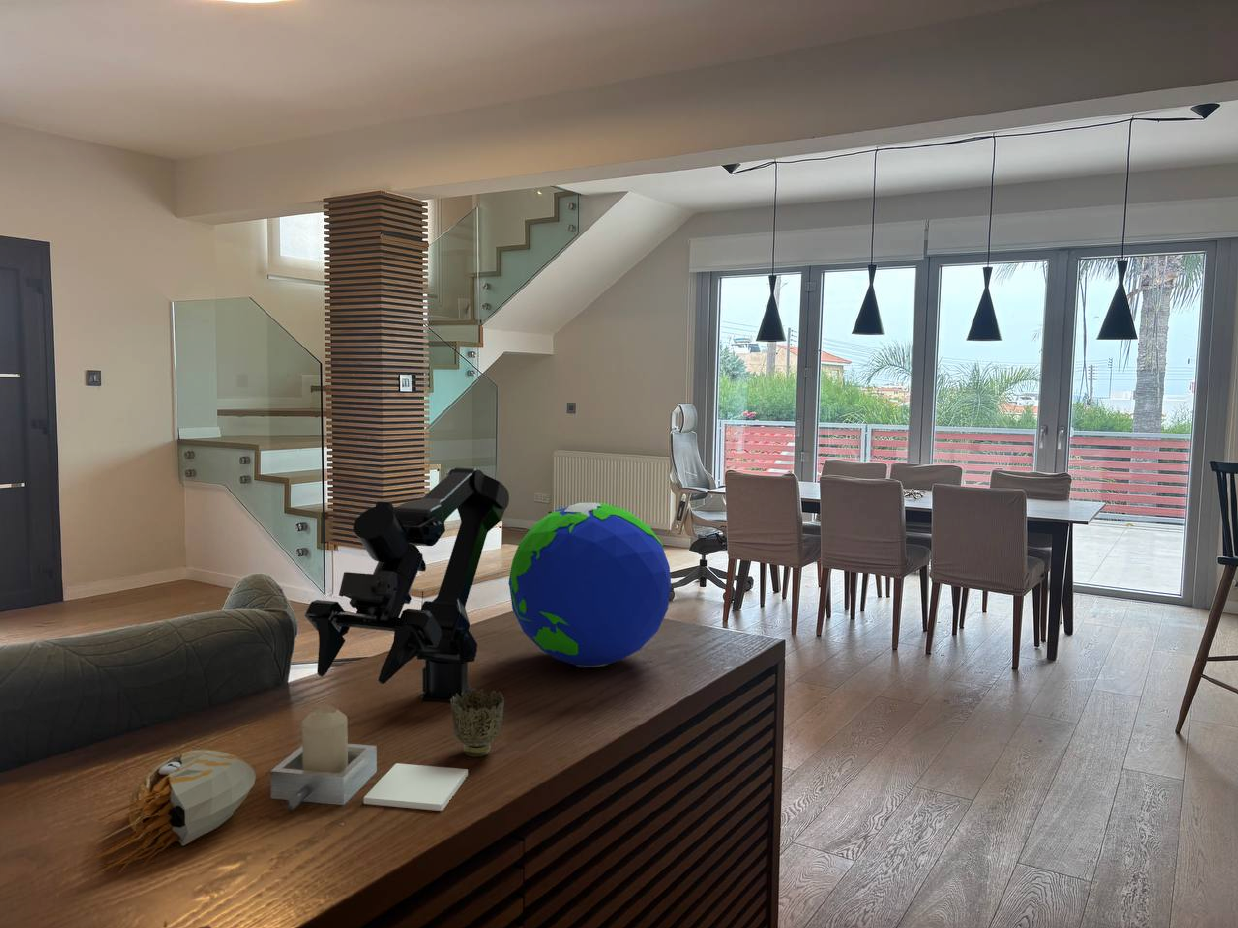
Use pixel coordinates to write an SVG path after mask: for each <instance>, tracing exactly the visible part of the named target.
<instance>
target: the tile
mask: <svg viewBox="0 0 1238 928" xmlns="http://www.w3.org/2000/svg"><path fill="white" fill-rule="evenodd" d="M468 776H469V769H467V768H457V767H456V768H455V767H445V766H432V765H420V764H411V763H410V764H408V763H397V762H396V763H394V765H393V766H391V768H390V769H389V770H388V771H387V772H386V773H385V774H384V775H383V776H382V777H381V779H379V781H378V782H377V783H376V784H375V785H374V786H373V787H372V788H371V789H370V790H369V791H368V792H367V793H366V795H364V797H363V804H364V805H374V806H384V807H395V808H404V809H405V808H406V809H407V808H408V809H413V810H414V809H415V810H416V809H417V810H425V811H426V810H427V811H434V812H435V811H437V812H442V811H444V809H445V807H446V806H447V805H448V803H449V802H450V801H451V800H452V798H453V797H454V795H455V794H456V793H457V791H458V790H459V788H461V786H462V784H463V783H464V782H465V781H466V779H467V778H466V777H468ZM452 796H453V797H452ZM449 800H450V801H449Z"/></svg>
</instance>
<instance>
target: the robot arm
mask: <svg viewBox="0 0 1238 928" xmlns="http://www.w3.org/2000/svg"><path fill="white" fill-rule="evenodd" d="M509 501H510V495H509V491H508V489H507V488H506V487H505V485H503V484H502V483H501V481H499V480H497V479H495V478H493V477H490V476H489V475H486V474H485V473H483V471H482V470H480V469H478V468H476V467H458V466H457V467H454V468H451V469H450V470H449V472H448V475H447V476H445V478H444V479H442V480H441V481H440V482H439V483H438V484H437V485H435V486H434V487H433V488H432V489H431V490H430V491H429V492H427V493H426V494H425V495H424V496H423V497H422V498H420V499H415V500H410V501H406V502H404V503H402V504H400V505H398V506H396V507H395V508H394V505H393V504H392V502H391V501H382V500H381V501H380V500H379V501H377V502H376V504H375V506H373V507H371V508H368V509H367V510H365V511H363V512H362V513H361V514H360V515H359V516H357V517H356V518H355V521H354V523H353V532H354V534H355V535H356V537H357V539H358V540H359V541H360V544H361V545H362V547H364V550H365V551H366V552H367V553H368V555H369V556H370V558H371V559H372V560H374V561H376V562H377V564H376V567H375V568H374V571H373V573H359V572H349V571H345V572H343V575H342V581H341V584H340V588H339V593H338V596H339V597H342V598H343V597H346V598H347V599H350V601H349V605H350V606H351V607H352V608H354V609H356V612H347V611H345V610H344V608H343V607H342V606H341V604H340V603H339V602H338V601H332V600H322V599H316V600H313V601H311V602H310V603H309V605H308V607H307V609H306V611H305V613H304V617H305V618H306V619H307V620H308V622H309V623H310V624H311V625H312V626H313V627H314V628H315V630H316V631H317V633H318V643H319V644H318V658H317V672H316V673H317V675H318V676H319V677H322V678H323V677H324V676H325V675H326V674H327V673H328V671H329V669H330V668H331V666H332V664H333V662H334V661H335V659H336V658H337V656H338V654H339V653H340V651H341V649H342V647H343V646H344V644H345V642H346V639H345V638H344V636H345V635H347V634H349V631H350V628H356V629H358V628H359V629H365V630H366V629H367V630H375V631H387V632H393V641H392V644H391V647H390V648H389V651H388V653H387V656H386V658H385V661H384V663H383V665H382V667H381V671H380V674H379V676H378V682H379V683H380V685H384V684H386V682H388V680H390V679H391V678H392V677H393V676H394V675H395V674H396V673H398V672H399V670H401V669H402V668H403V667H404V666H405V665H407V663H408V662H410V661H412V660H413V659H414V658H416V660H417V661H424V663H425V665H424V666H423V667H422V669H421V673H422V674H421V675H422V676H421V677H422V679H421V682H422V683H421V684H422V687H421V689H422V693H423V694H422V695H421V697H420V699H421V700H422V701H423V700H424V701H434V702H435V701H436V702H438V701H439V702H449V703H450V699H451V700H452V696H454V697H455V695H456V693H457V694H458V695H459V696H460V697H461V694H462V692H463V691H465V693H466V694H468V693H469V692H470V691H471V690H472V686H470V685H468V678H469V677H468V673H469V671H468V668H469V667H468V666H469V665H468V663H473V662H474V661H475V658H476V656H477V651H478V650H477V649H478V643H477V641H476V640H475V638H474V636H473V635H472V633H471V631H470V628H471V627H470V626H471V623H470V619H469V616H468V613H467V609H466V605H467V604H468V603H467V602H468V599H469V595H470V592H471V589H472V586H473V582H474V579H475V576H476V574H477V573H476V572H477V569H478V566H479V562H480V559H481V556H482V552H483V549H484V546H485V543H486V539H487V535H488V533H489V532H490V531H491V530H492V529H494V527H496V526H497V525H498V524H499V523H500V522H501V521H502V518H503V516H504V513H505V510H506V509H507V508H508V506H509ZM456 510H457V512H458V516H459V519H460V524H459V527H458V532H457V535H456V536H455V541H454V544H453V546H452V550H451V553H450V556H449V560H448V562H447V566H446V569H445V573H444V575H443V579H442V582H441V585H440V588H439V591H438V594H437V596H436V598H434V600H432V601H428V600H427V601H424V602H423V604H422V605H421V608H420V609H415V608H414V609H413V608H406V609H403V607H404V605H410V604H411V602H412V599H413V598H412V597H411V594H410V591H411V589H412V587H413V584H414V581H415V578H416V576H417V574H418V572H425V571H426V569H427V567H426V566H427V565H426V562H425V559H424V558H423V553H422V552H420V550H419V549H418V547H417V546H421V547H433V546H435V545H436V544H437V543H438V541H439V540H440V538H441V537H442V536H443V534H444V533H445V531H446V528H445V521H446V520H447V519H448V518H449V517H450V516H451V515H452V514H453V513H454V512H455V511H456Z"/></svg>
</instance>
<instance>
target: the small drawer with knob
mask: <svg viewBox="0 0 1238 928" xmlns="http://www.w3.org/2000/svg"><path fill="white" fill-rule="evenodd" d="M377 746H378V745H370V744H369V745H367V744H356V743H348V766H347V767H346V768H345V769H344V770H343V771H342V772H341V773H329V772H318V771H306V770H303V761H302V745H301V746H299V748H297V749H296V750H294V752H292V753H291V754H290V755H289V756H287V757H286V758H285V759H284V760H282V761H281V762H279V764H278V765H276V766H275V767H274V768H272V769H271V770H270V773H269V774H270V776H269V777H270V799H274V800H275V799H276V800H283V801H284V800H286V801H285V808H286V809H287V810H288V811H292V810H295V808H297V806H298V805H300V804H301V803H302V802H304V803H315V804H316V803H317V804H326V805H337V806H345V805H346V804H347V803H348V802H349V801H350V800H351V799H352V798H353V797H354V796H355V794H356V793H358V792H359V790H360V789H362V788H363V786H364V785H365V784H366V783H368V781H369V780H371V778H372V777H373V776H374V775H375V774H376V773H377V772H378V766H377V765H378V764H377V763H378V759H377V758H378V752H377V748H378V747H377Z"/></svg>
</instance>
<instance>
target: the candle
mask: <svg viewBox="0 0 1238 928" xmlns="http://www.w3.org/2000/svg"><path fill="white" fill-rule="evenodd" d="M348 734H349V733H348V716H347V715H346V714H344V712H342V711H340V710H339V708H335V707H333V706H332V705H330V704H325V705H322V706H320V707H318V708H317V709H315V710H314V711H313V712H311V713H309V714H308V715H307V716H305V717H304V718H303V719H302V721H301V746H302V761H303V770H306V771H318V772H329V773H341V772H342V771H343V770H344V769H345V768H346V767H347V766H348V744H349V743H348V740H349V739H348V738H349V737H348V736H349V735H348Z"/></svg>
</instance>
